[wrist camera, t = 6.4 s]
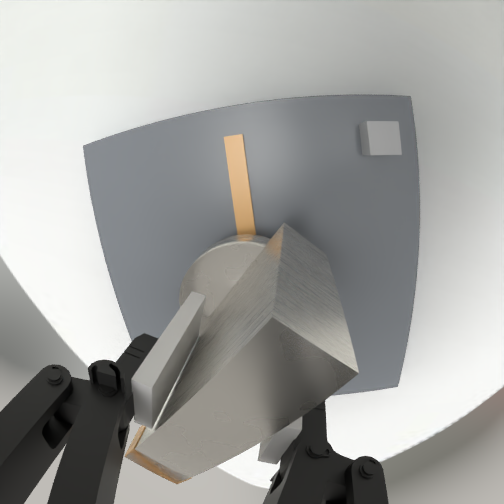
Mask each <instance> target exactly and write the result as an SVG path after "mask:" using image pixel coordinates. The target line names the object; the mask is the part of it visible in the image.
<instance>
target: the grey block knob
mask: <svg viewBox="0 0 504 504" xmlns="http://www.w3.org/2000/svg"><path fill="white" fill-rule="evenodd" d="M192 291H193V292H196V293H199V294H203V295H206V299H205V304H204V310H203V315H202V320H201V326H200V331H199V337H198V339H197V341H196V343H195V345H194V347H193V349H192V351H191V353H190V355H189V357H188V359H187V361H186V363H185V365H184V367H183V369H182V370H181V372H180V374H179V376H178V378H177V380H176V382H175V384H174V386H173V388H172V390H171V392H170V394H169V396H168V398H167V400H166V402H165V404H164V406H163V408H162V410H161V412H160V414H159V416H158V418H157V420H156V422H155V424H154V426H153V428H152V429H150V428H148V427H146V426H143V425H142V426H141V427H140V428H139V430H138V432H137V433H136V435H135V437H134V439H133V441H132V443H131V445H130V447H129V449H128V450H127V452H126V454H125V457H126V458H128V459H130V460H131V461H133V462H135V463H137V464H139V465H140V466H142V467H144V468H146V469H147V470H149V471H151V472H153V473H155V474H157V475H159V476H161V477H163V478H165V479H167V480H169V481H171V482H174V483H176V484H179V483H181V482H184V481H186V480H189V479H191V478H192V477H193V476H196V475H198V474H200V473H202V472H205V471H207V470H209V469H211V468H213V467H215V466H217V465H219V464H221V463H223V462H225V461H227V460H229V459H231V458H233V457H235V456H237V455H239V454H241V453H242V452H244V451H246V450H248V449H250V448H251V447H253V446H255V445H257V444H258V443H260V442H262V441H264V440H265V439H267V438H269V437H270V436H272V435H274V434H275V433H277V432H278V431H280V430H282V429H283V428H285V427H286V426H288V425H289V424H291V423H293V422H294V421H296V420H297V419H299V418H300V417H302V416H303V415H304V414H306V413H307V412H309V411H310V410H312V409H313V408H315V407H316V406H317V405H319V404H320V403H322V402H323V401H324V400H326V399H327V398H328V397H330V396H331V395H332V394H334V393H335V392H336V391H338V390H339V389H340V388H341V387H343V386H344V385H345V384H347V383H348V382H349V381H350V380H352V379H353V378H354V377H355V376H356V375H358V374H359V371H358V366H357V362H356V358H355V354H354V350H353V346H352V342H351V338H350V334H349V331H348V327H347V323H346V319H345V316H344V312H343V308H342V305H341V301H340V298H339V294H338V291H337V288H336V284H335V281H334V277H333V274H332V271H331V268H330V264H329V261H328V258H327V255H326V254H325V253H324V252H323V251H321V250H320V249H319V248H317V247H316V246H315V245H314V244H312V243H311V242H310V241H308V240H307V239H306V238H304V237H303V236H302V235H301V234H299V233H298V232H297V231H295V230H294V229H293V228H291V227H290V226H289V225H287V224H286V223H285V222H284V223H283V224H282V226H281V227H280V228H279V229H278V231H277V232H276V233H275V234H274V236H273V237H272V238H271V239H270V238H267V237H264V236H259V235H249V234H245V235H235V236H230V237H227V238H224V239H221V240H219V241H217V242H215V243H214V244H212V245H211V246H209V247H208V248H207V249H206V250H205V251H204V252H203V253H202V254H201V255H200V256H199V257H198V259H197V260H196V261H195V262H194V263H193V264H192V266H191V267H190V268H189V269H188V271H187V273H186V274H185V276H184V278H183V281H182V283H181V287H180V293H179V304H180V307H181V306H182V305H183V303H184V302H185V300H186V299H187V297H188V296H189V295H190V293H191V292H192Z"/></svg>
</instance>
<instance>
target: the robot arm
mask: <svg viewBox="0 0 504 504" xmlns="http://www.w3.org/2000/svg"><path fill="white" fill-rule="evenodd" d="M205 299H206V295H203V294H199V293H196V292H193V291H192V292H191V293H190V295H189V296H188V297H187V299H186V300H185V302H184V303H183V305H182V306H181V307H180V309H179V310H178V312H177V313H176V315H175V316H174V317H173V319H172V320H171V322H170V323H169V325H168V326H167V327H166V329H165V330H164V332H163V333H162V335H161V336H160V338H156V337H153V336H151V335H148V334H145V333H143V334H142V335H140V336H138V337H136V338H134V340H133V341H132V342H131V344H130V345H129V347H127V349H126V350H125V351H124V353H123V354H122V355H121V356H120V358H119V359H118V360H117V361H116V363H115V362H113V361H110V360H99V361H96V362H94V363H92V364H91V365H90V366H89V367H88V372H89V376H90V380H83V379H79V378H74V377H71V375H70V373H69V371H68V370H67V369H66V368H65V367H63V366H60V365H49V366H47V367H45V368H43V369H42V370H41V371H40V372H39V373H38V374H37V375H36V376H35V377H34V378H33V379H32V380H31V381H30V382H29V383H28V384H27V385H26V386H25V387H24V388H23V389H22V390H21V391H20V392H19V393H18V394H17V395H16V396H15V397H14V398H13V399H12V400H11V401H10V402H9V404H8V405H7V406H5V408H4V409H3V410H2V411H1V412H0V504H24V502H25V501H26V500H27V498H28V497H29V495H30V494H31V492H32V491H33V489H34V488H35V487H36V485H37V484H38V482H39V481H40V479H41V478H42V477H43V475H44V474H45V472H46V471H47V469H48V468H49V467H50V465H51V464H52V462H53V461H54V460H55V458H56V457H57V456H58V454H59V453H60V451H61V450H62V449H63V447H64V446H65V444H66V443H67V444H66V447H65V449H64V452H63V455H62V458H61V461H60V464H59V467H58V470H57V473H56V476H55V479H54V483H53V486H52V489H51V493H50V496H49V500H48V503H47V504H114V499H115V493H116V488H117V483H118V478H119V473H120V469H121V464H122V460H123V455H124V451H125V447H126V442H127V438H128V434H129V423H130V421H131V419H132V418H133V416H134V422H136V423H138V424H141V425H143V426H146V427H148V428H150V429H152V428H153V426H154V424H155V422H156V420H157V418H158V416H159V414H160V412H161V410H162V408H163V406H164V404H165V402H166V400H167V398H168V396H169V394H170V392H171V390H172V388H173V386H174V384H175V382H176V380H177V378H178V376H179V374H180V372H181V370H182V369H183V367H184V365H185V363H186V361H187V359H188V357H189V355H190V353H191V351H192V349H193V347H194V345H195V343H196V341H197V339H198V337H199V331H200V326H201V320H202V315H203V310H204V304H205ZM325 410H326V409H325V400H324V401H323V402H322V403H320V404H319V405H317V406H316V407H315V408H313V409H312V410H310V411H309V412H307V413H306V414H304V415H303V416H302V417H300V418H299V419H297V420H296V421H294V422H293V423H291V424H289V425H288V426H286V427H285V428H283V429H282V430H280V431H278V432H277V433H275V434H274V435H272V436H270V437H269V438H267V439H265V440H264V441H262V442H261V444H260V450H259V456H258V461H261V462H266V463H272V464H277V463H278V462H279V461H280V459H281V462H280V469H279V470H278V471H277V472H276V474H275V475H274V476H273V477H272V479H271V480H270V481H272V484H271V486H270V489H269V491H268V493H267V496H266V498H265V500H264V502H263V504H388V497H387V490H386V484H385V478H384V473H383V468H382V466H381V464H380V463H379V462H378V461H377V460H376V459H374V458H372V457H368V456H362V457H359V458H357V459H356V460H352V459H349V458H347V457H344V456H342V455H340V454H338V453H336V452H335V451H334V450H333V449H332V447H331V445H330V444H329V443H328V442H327V430H326V411H325Z"/></svg>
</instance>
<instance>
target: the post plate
mask: <svg viewBox="0 0 504 504" xmlns="http://www.w3.org/2000/svg"><path fill="white" fill-rule="evenodd" d="M83 150H84V157H85V164H86V171H87V178H88V184H89V189H90V195H91V200H92V205H93V210H94V215H95V220H96V224H97V229H98V233H99V237H100V241H101V245H102V249H103V253H104V257H105V261H106V264H107V268H108V271H109V275H110V278H111V281H112V285H113V288H114V291H115V294H116V298H117V301H118V304H119V307H120V310H121V313H122V315H123V318H124V321H125V324H126V327H127V329H128V332H129V335H130V338H131V340H132V341H133V340H134V338H136V337H138V336H140V335H142V334H143V333H145V334H148V335H151V336H153V337H156V338H160V336H161V335H162V333H163V332H164V330H165V329H166V327H167V326H168V325H169V323H170V322H171V320H172V319H173V317H174V316H175V315H176V313H177V312H178V310H179V309H180V304H179V293H180V287H181V283H182V281H183V278H184V276H185V274H186V273H187V271H188V269H189V268H190V267H191V266H192V264H193V263H194V262H195V261H196V260H197V259H198V257H199V256H200V255H201V254H202V253H203V252H204V251H205V250H206V249H207V248H208V247H209V246H211V245H212V244H214V243H215V242H217V241H219V240H221V239H224V238H227V237H230V236H235V235H245V234H249V235H259V236H264V237H267V238H270V239H271V238H272V237H273V236H274V234H275V233H276V232H277V231H278V229H279V228H280V227H281V226H282V224H283V223H284V222H285V223H286V224H287V225H289V226H290V227H291V228H293V229H294V230H295V231H297V232H298V233H299V234H301V235H302V236H303V237H304V238H306V239H307V240H308V241H310V242H311V243H312V244H314V245H315V246H316V247H317V248H319V249H320V250H321V251H323V252H324V253H325V254H326V255H327V258H328V261H329V264H330V268H331V271H332V274H333V277H334V281H335V284H336V288H337V291H338V294H339V298H340V301H341V305H342V308H343V312H344V316H345V319H346V323H347V327H348V331H349V334H350V338H351V342H352V346H353V350H354V354H355V358H356V362H357V366H358V371H359V374H358V375H356V376H355V377H354V378H353V379H352V380H350V381H349V382H348V383H347V384H345V385H344V386H343V387H341V388H340V389H339V390H338V391H336V392H335V393H334V394H332V395H341V394H350V393H359V392H367V391H374V390H381V389H387V388H393V387H398V383H399V379H400V375H401V371H402V366H403V362H404V357H405V352H406V347H407V342H408V336H409V331H410V324H411V318H412V311H413V304H414V296H415V287H416V277H417V265H418V250H419V225H420V193H419V168H418V153H417V142H416V132H415V124H414V116H413V109H412V102H411V96H397V95H327V96H310V97H297V98H286V99H277V100H268V101H260V102H253V103H246V104H240V105H234V106H228V107H222V108H217V109H211V110H206V111H201V112H197V113H192V114H188V115H183V116H179V117H175V118H171V119H167V120H163V121H159V122H155V123H152V124H148V125H145V126H141V127H138V128H134V129H131V130H128V131H125V132H121V133H118V134H115V135H112V136H109V137H106V138H103V139H101V140H98V141H95V142H92V143H89V144H87V145H84V146H83Z"/></svg>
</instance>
